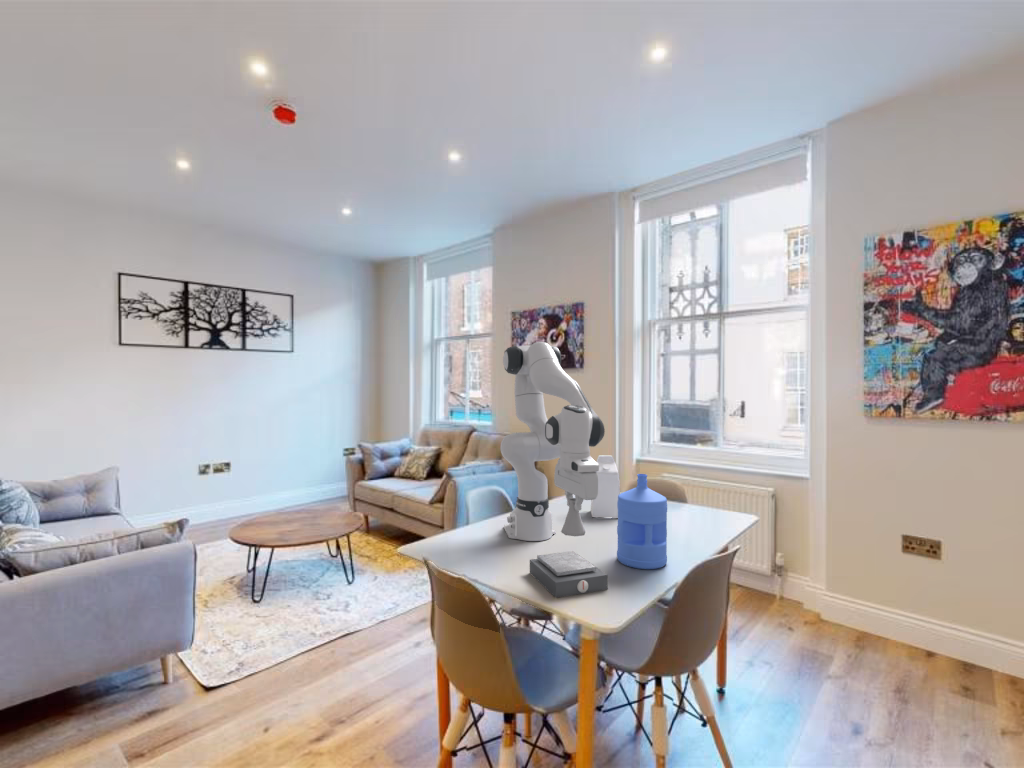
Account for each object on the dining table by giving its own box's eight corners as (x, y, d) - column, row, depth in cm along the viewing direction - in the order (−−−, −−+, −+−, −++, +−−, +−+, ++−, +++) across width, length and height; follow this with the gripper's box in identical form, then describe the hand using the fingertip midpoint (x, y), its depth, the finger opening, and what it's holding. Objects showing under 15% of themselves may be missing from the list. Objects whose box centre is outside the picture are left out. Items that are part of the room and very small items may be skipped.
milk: (617, 511, 218) (617, 454, 218) (620, 518, 206) (621, 457, 206) (590, 511, 219) (590, 453, 219) (592, 517, 207) (592, 457, 207)
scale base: (529, 572, 146) (529, 559, 146) (576, 566, 151) (576, 553, 151) (556, 598, 128) (556, 583, 128) (608, 590, 134) (609, 575, 134)
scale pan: (537, 558, 145) (537, 555, 145) (572, 554, 150) (572, 550, 150) (557, 576, 132) (557, 572, 132) (595, 570, 136) (595, 566, 136)
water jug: (611, 553, 163) (611, 470, 164) (656, 552, 164) (657, 470, 165) (624, 570, 148) (625, 479, 148) (674, 570, 149) (675, 479, 149)
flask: (583, 528, 145) (583, 496, 145) (588, 537, 138) (588, 502, 138) (559, 528, 145) (560, 495, 145) (562, 537, 138) (563, 502, 137)
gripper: (549, 456, 150) (548, 500, 150) (582, 467, 131) (581, 518, 131) (567, 455, 152) (566, 499, 152) (602, 466, 133) (601, 516, 133)
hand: (574, 508), depth 141 cm, fingers closed on flask, 3 cm apart
